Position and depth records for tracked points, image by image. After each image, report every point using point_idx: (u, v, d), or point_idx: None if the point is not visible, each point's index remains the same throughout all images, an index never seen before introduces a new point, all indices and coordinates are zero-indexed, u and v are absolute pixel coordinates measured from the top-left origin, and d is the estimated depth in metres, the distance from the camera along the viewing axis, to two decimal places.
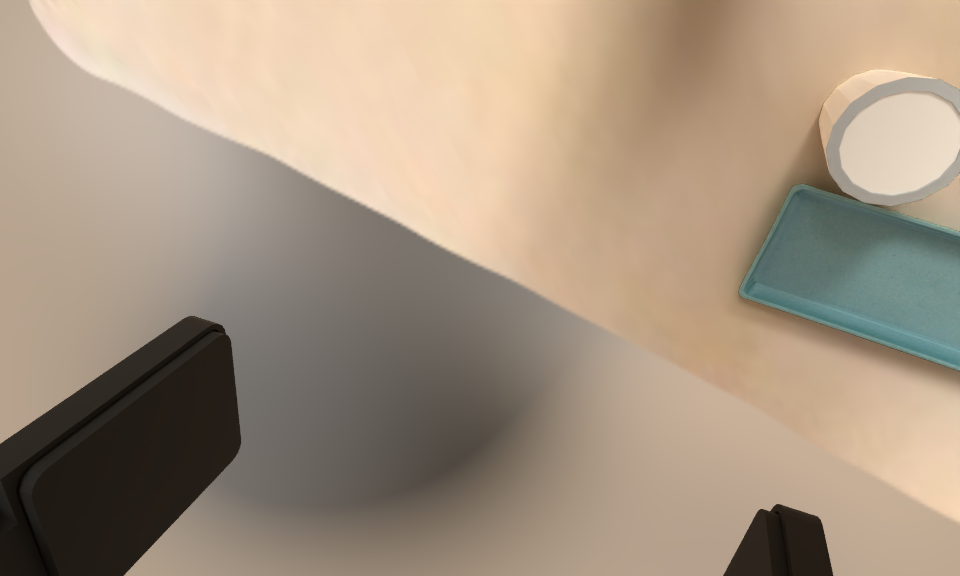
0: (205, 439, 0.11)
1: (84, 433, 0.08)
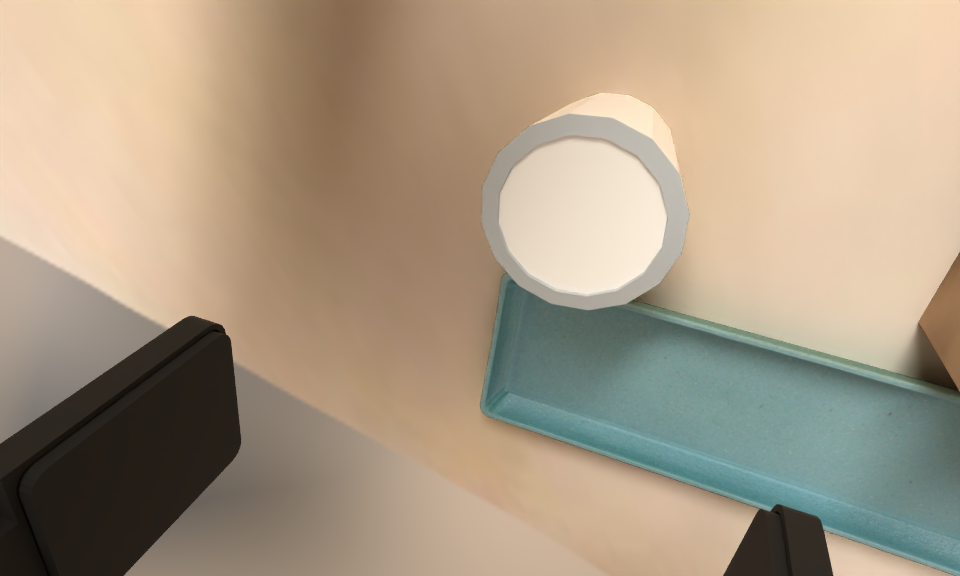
0: (205, 439, 0.11)
1: (84, 433, 0.08)
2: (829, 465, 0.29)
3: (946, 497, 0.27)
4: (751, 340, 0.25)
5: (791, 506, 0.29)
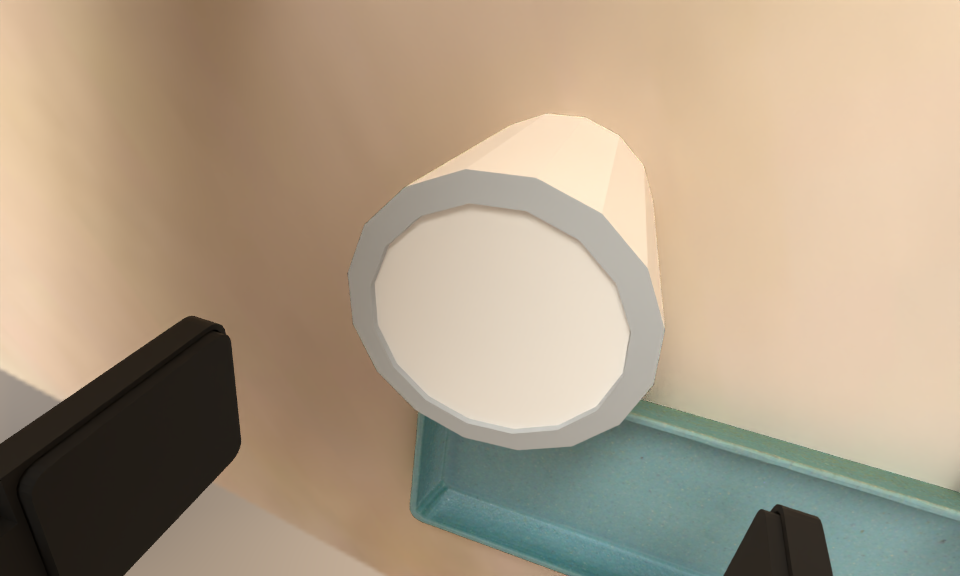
0: (205, 439, 0.11)
1: (84, 433, 0.08)
2: None
3: None
4: (755, 453, 0.18)
5: None
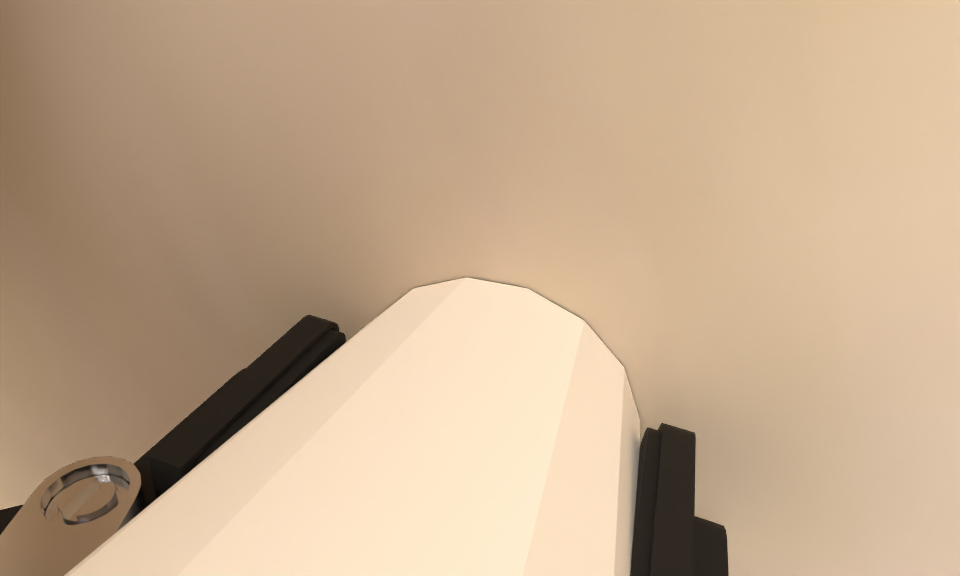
0: None
1: (240, 426, 0.09)
2: None
3: None
4: None
5: None
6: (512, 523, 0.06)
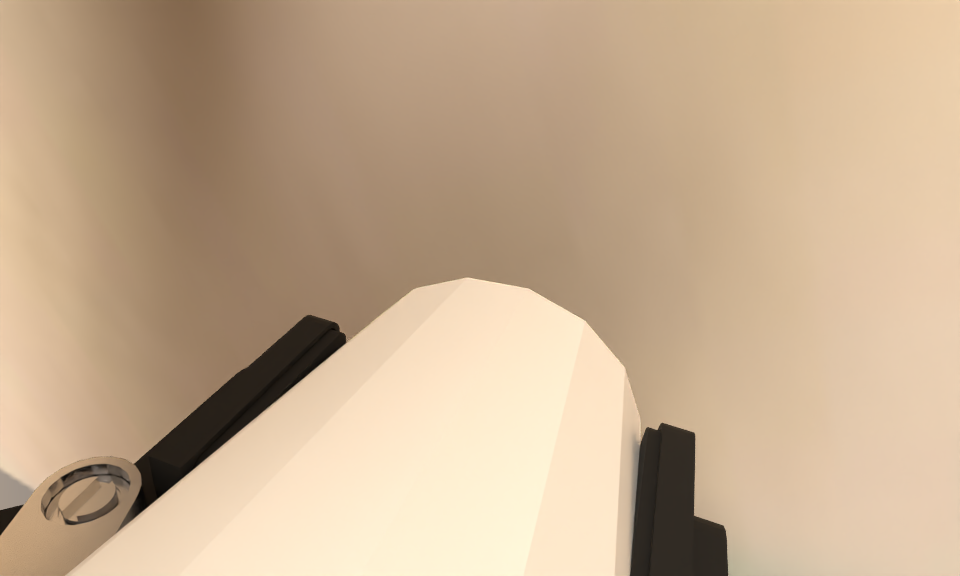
0: None
1: (241, 426, 0.09)
2: None
3: None
4: None
5: None
6: (513, 522, 0.06)
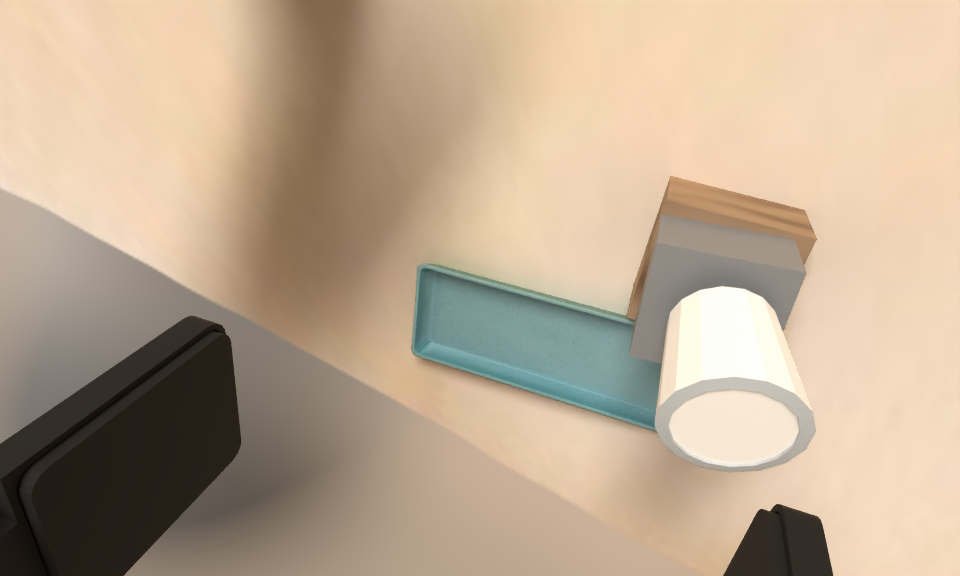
0: (205, 439, 0.11)
1: (84, 433, 0.08)
2: (615, 378, 0.48)
3: None
4: (553, 301, 0.45)
5: (594, 404, 0.48)
6: (754, 348, 0.27)
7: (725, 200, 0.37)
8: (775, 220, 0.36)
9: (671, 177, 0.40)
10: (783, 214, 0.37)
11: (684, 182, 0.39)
